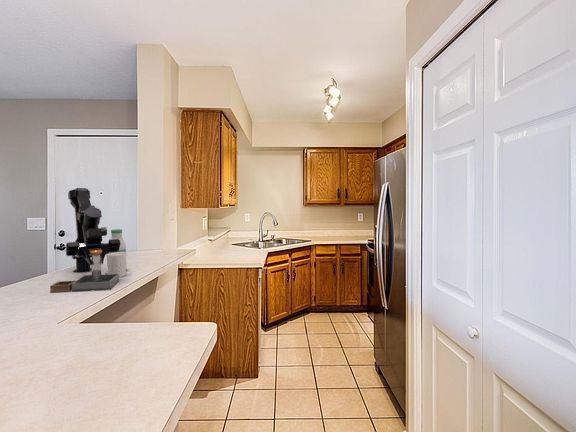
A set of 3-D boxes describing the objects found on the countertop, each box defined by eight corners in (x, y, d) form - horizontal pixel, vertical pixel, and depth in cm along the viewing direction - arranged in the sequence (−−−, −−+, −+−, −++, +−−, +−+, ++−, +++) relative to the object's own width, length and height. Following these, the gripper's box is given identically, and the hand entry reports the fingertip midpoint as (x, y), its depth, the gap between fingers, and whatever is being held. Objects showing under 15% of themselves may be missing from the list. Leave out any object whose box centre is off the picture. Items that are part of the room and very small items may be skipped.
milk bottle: (108, 270, 157) (107, 228, 156) (126, 269, 161) (125, 228, 159) (107, 274, 150) (106, 230, 149) (126, 272, 154) (125, 229, 152)
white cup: (130, 274, 151) (130, 252, 150) (120, 278, 143) (119, 255, 142) (114, 273, 152) (113, 252, 151) (103, 277, 144) (102, 255, 143)
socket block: (57, 287, 128) (57, 281, 128) (76, 286, 129) (76, 280, 129) (50, 292, 122) (50, 286, 122) (69, 291, 123) (69, 285, 123)
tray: (84, 282, 136) (84, 275, 136) (118, 280, 139) (118, 273, 139) (72, 291, 123) (71, 283, 123) (110, 289, 126) (110, 282, 126)
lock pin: (90, 279, 132) (89, 249, 131) (102, 278, 134) (102, 248, 133) (90, 281, 128) (89, 251, 127) (103, 280, 130) (102, 250, 129)
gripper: (65, 221, 127) (69, 254, 119) (118, 219, 138) (125, 249, 130) (64, 239, 133) (68, 271, 125) (115, 236, 145) (121, 265, 137)
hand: (96, 264), depth 129 cm, fingers closed on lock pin, 3 cm apart
